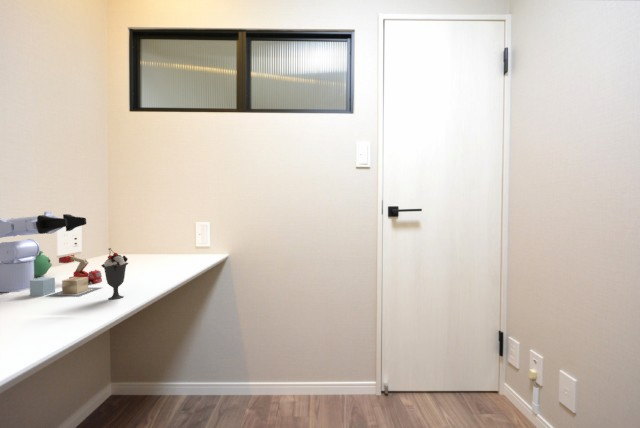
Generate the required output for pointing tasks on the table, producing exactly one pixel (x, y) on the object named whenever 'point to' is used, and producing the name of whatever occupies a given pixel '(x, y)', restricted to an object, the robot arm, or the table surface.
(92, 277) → the toy fire truck
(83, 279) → the beech block
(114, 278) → the sundae
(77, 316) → the table surface
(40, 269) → the alien toy
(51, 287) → the bluegrey block
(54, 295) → the grey square pad
